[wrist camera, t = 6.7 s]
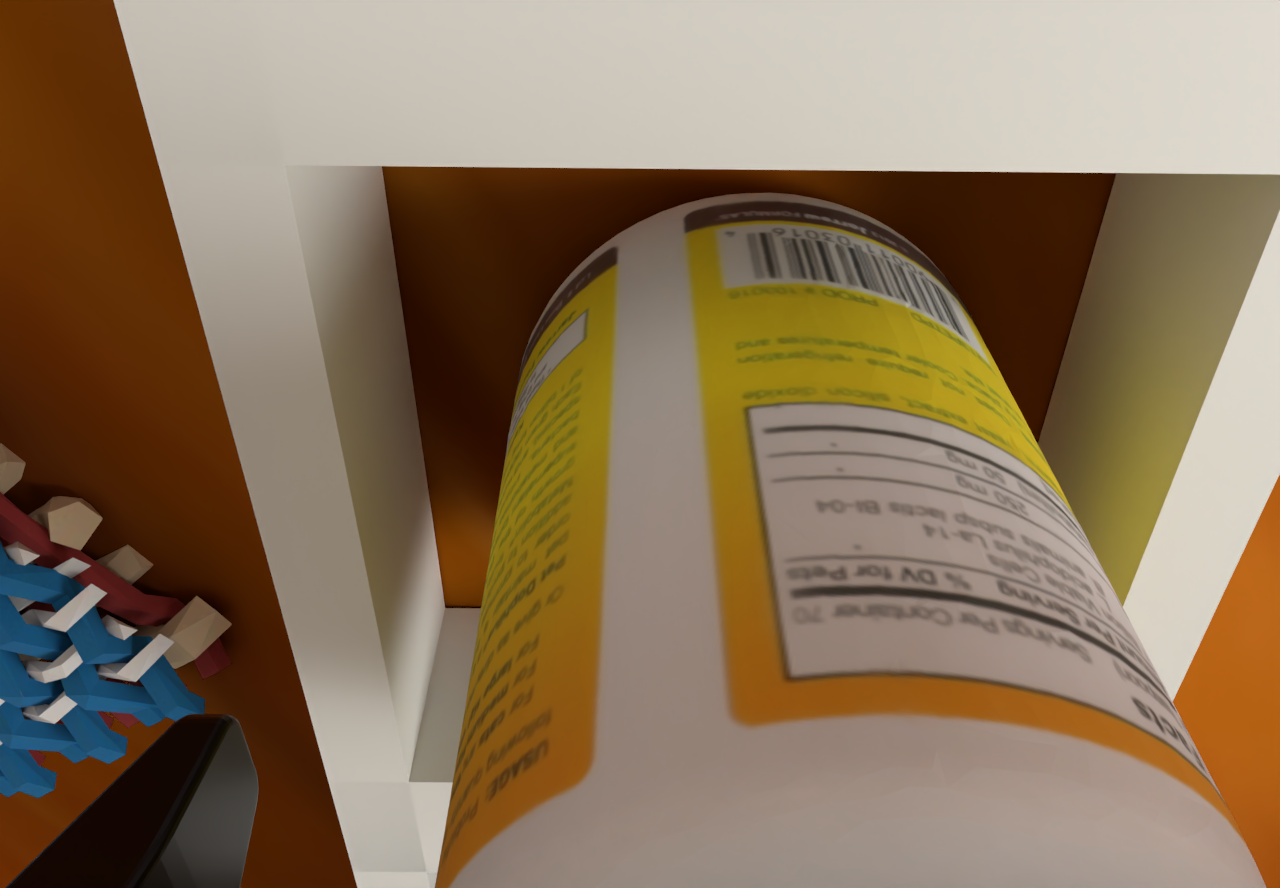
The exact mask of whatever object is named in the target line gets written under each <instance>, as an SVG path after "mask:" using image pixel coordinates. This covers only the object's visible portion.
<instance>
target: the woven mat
mask: <svg viewBox="0 0 1280 888" xmlns="http://www.w3.org/2000/svg"><path fill="white" fill-rule="evenodd" d="M25 464H26V463H25V462H24V461H23V460H22V459H20V458H19V457H18V456H17V455H15V454H14V453H13V452H12V451H10V450H9V449H8V448H7V447H5V446H4V445H3V444H1V443H0V793H2V794H3V795H5V796H6V797H9V796H11V795H13V794H15V793H17V792H19V791H20V792H23V793H26V794H28V795H31V796H34V797H36V798H40V797H41V796H43V795H45V794H47V793H49V792H51V791H53V790H54V789H55V782H56V775H57V773H55V772H53V771H50V770H48V769H45V768H43V767H41V765H42V763H43V761H44V759H45V756H44V755H43V754H41V753H40V752H38V751H37V750H41V751H55V752H58V753H60V754H63V755H64V756H66V757H67V758H68V759H70V760H71V761H73V762H74V763H77V762H79V761H81V760H83V759H85V758H87V757H89V756H91V757H94V758H96V759H98V760H101V761H103V762H105V763H108V764H109V763H111V762H113V761H115V760H117V759H118V758H120V757H122V756H124V755H126V748H127V738H126V737H124V736H122V735H120V734H118V733H116V732H114V731H112V730H110V727H111V725H112V722H113V720H114V719H113V718H111V717H110V716H108V715H107V714H105V713H104V712H109V713H111V714H112V715H113V716H114V717H115V718H116V719H118V720H119V721H120V722H121V723H122V724H123V725H125V726H126V727H127V728H129V727H130V726H132V725H134V724H136V723H138V722H140V721H141V722H142V723H144V724H145V725H146V726H148V727H149V726H151V725H153V724H156V723H158V722H160V721H162V720H163V719H164V718H165V717H168V718H170V719H172V720H174V721H177V720H179V719H180V718H182V717H184V716H186V715H190V714H205V699H204V698H202V697H200V696H198V695H196V694H194V693H192V692H190V691H188V690H187V688H186V686H187V685H186V684H185V683H183V682H182V681H181V679H180V678H179V676H178V675H177V674H176V672H175V671H174V669H177V668H179V667H181V666H183V665H185V664H187V663H189V662H191V661H194V663H195V665H196V667H197V669H198V671H199V673H200V675H201V677H202V679H203V680H204V679H206V678H208V677H210V676H212V675H214V674H216V673H218V672H219V671H221V670H223V669H224V668H226V667H227V666H229V665H230V664H232V663H231V661H230V659H229V657H228V655H227V653H226V651H225V649H224V647H223V645H222V643H221V641H220V638H219V636H220V635H221V634H222V633H223V632H225V631H226V630H227V629H228V628H229V627H230V626H231V625H232V624H231V623H230V622H229V621H228V620H227V619H226V618H224V617H223V616H222V615H221V614H220V613H219V612H217V611H216V610H215V609H213V608H212V607H211V606H210V605H208V604H207V603H206V602H204V601H203V600H202V599H200V598H199V597H198V596H196V597H195V598H194V599H193V600H191V601H190V602H189V603H188V604H187V605H186V606H185V605H184V604H183V603H182V602H181V601H179V600H178V599H177V598H173V597H164V596H154V595H145V594H144V593H142V592H141V591H139V590H138V589H136V588H135V587H133V586H132V584H133V583H134V582H136V581H137V580H138V579H139V578H140V577H141V576H142V575H143V574H144V573H146V572H147V571H148V570H149V569H150V568H151V567H152V566H153V564H152V563H151V562H150V561H148V560H147V559H146V558H144V557H143V556H142V555H141V554H139V553H138V552H137V551H136V550H134V549H133V548H132V547H131V546H129V545H128V544H127V545H125V546H123V547H121V548H119V549H118V550H116V551H114V552H112V553H110V554H108V555H106V556H104V557H102V558H100V559H98V560H96V561H95V560H93V559H92V558H90V557H89V556H87V555H86V554H84V553H83V552H81V551H80V550H81V549H82V548H83V546H84V545H85V543H86V542H87V541H88V539H89V538H90V536H91V535H92V533H93V532H94V531H95V529H96V528H97V526H98V525H99V523H100V522H101V521H102V519H103V518H102V517H101V516H100V514H99V513H98V512H97V511H96V510H95V509H94V508H93V506H92V505H90V504H89V503H88V502H86V501H85V500H84V499H82V498H75V497H65V496H57V497H52V498H51V499H50V500H49V501H48V502H47V503H46V504H45V505H43V506H41V507H40V508H38V509H37V510H35V511H33V512H32V513H30V514H28V515H26V514H25V513H23V512H22V511H21V510H20V509H19V508H17V507H16V506H15V505H14V504H13V503H12V502H11V501H10V500H9V499H7V498H6V497H5V496H4V494H5V493H6V492H7V491H8V490H9V489H10V488H12V487H13V486H14V485H15V484H16V483H17V482H19V481H20V480H21V478H22V475H23V471H24V468H25ZM35 563H37V564H38V565H39V566H36V565H33V564H35ZM40 566H41V567H40ZM98 607H101V608H103V609H105V610H107V611H109V612H111V613H113V614H115V615H117V616H119V617H121V618H123V619H126V620H128V621H130V622H132V623H134V624H138V625H137V626H136V627H134V628H133V627H131V626H129V625H127V624H125V623H123V622H121V621H119V620H117V619H115V618H113V617H111V616H109V615H106V616H105V617H104V618H102V619H101V618H100V616H99V614H98V612H97V610H96V609H97V608H98ZM40 659H47V660H51V661H54V662H53V663H51V662H41V661H39V660H40ZM173 668H174V669H173ZM122 680H126V681H127V682H129V683H130V684H132V685H128V684H125V683H124V682H123V681H122ZM103 711H104V712H103Z"/></svg>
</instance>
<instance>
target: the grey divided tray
mask: <svg viewBox="0 0 1280 888" xmlns="http://www.w3.org/2000/svg"><path fill="white" fill-rule="evenodd" d="M114 4H115V8H116V11H117V15H118V19H119V22H120V26H121V30H122V33H123V37H124V40H125V44H126V48H127V51H128V55H129V59H130V62H131V66H132V70H133V73H134V77H135V80H136V84H137V88H138V91H139V95H140V99H141V102H142V106H143V110H144V113H145V117H146V121H147V124H148V128H149V131H150V135H151V139H152V142H153V146H154V150H155V153H156V157H157V161H158V164H159V168H160V171H161V175H162V179H163V182H164V186H165V190H166V193H167V197H168V201H169V204H170V208H171V211H172V215H173V219H174V222H175V226H176V230H177V233H178V237H179V241H180V244H181V248H182V251H183V255H184V259H185V262H186V266H187V270H188V273H189V277H190V281H191V284H192V288H193V291H194V295H195V299H196V302H197V306H198V310H199V313H200V317H201V321H202V324H203V328H204V331H205V335H206V339H207V342H208V346H209V350H210V353H211V357H212V361H213V364H214V368H215V371H216V375H217V379H218V382H219V386H220V390H221V393H222V397H223V401H224V404H225V408H226V411H227V415H228V419H229V422H230V426H231V430H232V433H233V437H234V441H235V444H236V448H237V451H238V455H239V459H240V462H241V466H242V470H243V473H244V477H245V481H246V484H247V488H248V491H249V495H250V499H251V502H252V506H253V510H254V513H255V517H256V521H257V524H258V528H259V531H260V535H261V539H262V542H263V546H264V550H265V553H266V557H267V561H268V564H269V568H270V572H271V575H272V579H273V582H274V586H275V590H276V593H277V597H278V601H279V604H280V608H281V612H282V615H283V619H284V622H285V626H286V630H287V633H288V637H289V641H290V644H291V648H292V652H293V655H294V659H295V662H296V666H297V670H298V673H299V677H300V681H301V684H302V688H303V692H304V695H305V699H306V702H307V706H308V710H309V713H310V717H311V721H312V724H313V728H314V732H315V735H316V739H317V742H318V746H319V750H320V753H321V757H322V761H323V764H324V768H325V772H326V775H327V779H328V782H329V786H330V790H331V793H332V797H333V801H334V804H335V808H336V812H337V815H338V819H339V822H340V826H341V830H342V833H343V837H344V841H345V844H346V848H347V852H348V855H349V859H350V862H351V866H352V870H353V873H354V877H355V881H356V884H357V888H435V884H436V878H437V872H438V866H439V860H440V855H441V849H442V843H443V837H444V831H445V826H446V820H447V814H448V808H449V802H450V796H451V790H452V784H453V778H454V772H455V766H456V760H457V754H458V748H459V742H460V736H461V731H462V725H463V719H464V713H465V707H466V700H467V693H468V686H469V680H470V674H471V668H472V662H473V657H474V651H475V645H476V639H477V632H478V625H479V618H480V612H481V608H445V603H444V596H443V589H442V582H441V575H440V568H439V561H438V554H437V547H436V540H435V533H434V526H433V519H432V512H431V505H430V498H429V491H428V484H427V477H426V471H425V464H424V457H423V450H422V443H421V436H420V429H419V422H418V415H417V408H416V401H415V394H414V387H413V380H412V373H411V366H410V359H409V352H408V345H407V338H406V331H405V325H404V318H403V311H402V304H401V297H400V290H399V283H398V276H397V269H396V262H395V255H394V248H393V241H392V234H391V227H390V220H389V213H388V206H387V199H386V192H385V185H384V179H383V172H382V166H416V167H523V168H631V169H738V170H846V171H953V172H1061V173H1116V176H1115V180H1114V183H1113V186H1112V190H1111V193H1110V197H1109V200H1108V204H1107V207H1106V211H1105V214H1104V218H1103V221H1102V224H1101V228H1100V231H1099V235H1098V238H1097V242H1096V245H1095V249H1094V252H1093V255H1092V259H1091V262H1090V266H1089V269H1088V273H1087V276H1086V280H1085V283H1084V286H1083V290H1082V293H1081V297H1080V300H1079V304H1078V307H1077V311H1076V314H1075V318H1074V321H1073V324H1072V328H1071V331H1070V335H1069V338H1068V342H1067V345H1066V349H1065V352H1064V355H1063V359H1062V362H1061V366H1060V369H1059V373H1058V376H1057V380H1056V383H1055V386H1054V390H1053V393H1052V397H1051V400H1050V404H1049V407H1048V411H1047V414H1046V418H1045V421H1044V424H1043V428H1042V431H1041V435H1040V438H1039V442H1038V446H1039V448H1040V449H1041V451H1042V453H1043V455H1044V457H1045V459H1046V461H1047V463H1048V465H1049V467H1050V468H1051V470H1052V472H1053V474H1054V476H1055V478H1056V479H1057V481H1058V483H1059V485H1060V487H1061V489H1062V491H1063V493H1064V495H1065V497H1066V499H1067V501H1068V503H1069V505H1070V507H1071V509H1072V511H1073V513H1074V515H1075V517H1076V519H1077V520H1078V522H1079V524H1080V526H1081V528H1082V529H1083V531H1084V533H1085V535H1086V537H1087V539H1088V541H1089V543H1090V545H1091V547H1092V549H1093V551H1094V553H1095V555H1096V557H1097V559H1098V561H1099V563H1100V565H1101V566H1102V568H1103V570H1104V572H1105V574H1106V576H1107V578H1108V580H1109V582H1110V584H1111V586H1112V588H1113V589H1114V591H1115V593H1116V595H1117V597H1118V599H1119V601H1120V603H1121V605H1122V607H1123V609H1124V611H1125V613H1126V614H1127V616H1128V618H1129V620H1130V622H1131V624H1132V626H1133V628H1134V630H1135V632H1136V633H1137V635H1138V637H1139V639H1140V641H1141V643H1142V645H1143V647H1144V649H1145V651H1146V653H1147V654H1148V656H1149V658H1150V660H1151V662H1152V664H1153V666H1154V668H1155V670H1156V672H1157V673H1158V675H1159V677H1160V679H1161V681H1162V683H1163V685H1164V687H1165V689H1166V691H1167V692H1168V694H1169V696H1170V698H1171V700H1172V702H1173V700H1174V697H1175V695H1176V693H1177V691H1178V689H1179V687H1180V685H1181V683H1182V680H1183V678H1184V676H1185V674H1186V672H1187V670H1188V668H1189V666H1190V663H1191V661H1192V659H1193V657H1194V655H1195V653H1196V651H1197V649H1198V646H1199V644H1200V642H1201V640H1202V638H1203V636H1204V634H1205V632H1206V629H1207V627H1208V625H1209V623H1210V621H1211V619H1212V617H1213V615H1214V612H1215V610H1216V608H1217V606H1218V604H1219V602H1220V600H1221V597H1222V595H1223V593H1224V591H1225V589H1226V587H1227V585H1228V583H1229V580H1230V578H1231V576H1232V574H1233V572H1234V570H1235V568H1236V566H1237V563H1238V561H1239V559H1240V557H1241V555H1242V553H1243V551H1244V549H1245V546H1246V544H1247V542H1248V540H1249V538H1250V536H1251V534H1252V532H1253V529H1254V527H1255V525H1256V523H1257V521H1258V519H1259V517H1260V515H1261V512H1262V510H1263V508H1264V506H1265V504H1266V502H1267V500H1268V498H1269V495H1270V493H1271V491H1272V489H1273V487H1274V485H1275V483H1276V481H1277V478H1278V476H1279V474H1280V0H114Z"/></svg>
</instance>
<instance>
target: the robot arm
mask: <svg viewBox="0 0 1280 888" xmlns="http://www.w3.org/2000/svg"><path fill="white" fill-rule="evenodd" d="M257 800H258V777H257V772H256V769H255V766H254V763H253V760H252V757H251V754H250V751H249V748H248V746H247V743H246V740H245V737H244V734H243V731H242V728H241V725H240V723H239V721H238V720H237V719H236V718H235V717H234V716H232V715H228V714H190V715H186V716H184V717H182V718H180V719H179V720H177V721H176V722H175V723H174V724H172V725H171V726H170V727H169V728H168V729H167V730H166V731H165V732H164V733H163V734H162V735H161V736H160V737H159V738H158V739H157V740H156V741H155V742H154V743H153V744H152V745H151V746H150V747H149V748H148V749H147V750H146V751H145V752H144V753H143V754H142V755H141V756H140V757H139V758H138V759H137V760H136V761H135V762H134V763H133V764H132V765H131V766H130V767H128V768H127V769H126V770H125V771H124V772H123V773H122V774H121V775H120V776H119V777H118V778H117V779H116V780H115V781H114V782H113V783H112V784H111V785H110V786H109V787H108V788H107V789H106V790H105V791H104V792H103V793H102V794H101V795H100V796H99V797H98V798H97V799H96V800H95V801H94V802H93V803H92V804H91V805H90V806H89V807H88V808H87V809H86V810H84V811H83V812H82V813H81V814H80V815H79V816H78V817H77V818H76V819H75V820H74V821H73V822H72V823H71V824H70V825H69V826H68V827H67V828H66V829H65V830H64V831H63V832H62V833H61V834H60V835H59V836H58V837H57V838H56V839H55V840H54V841H53V842H52V843H51V844H50V845H49V846H48V847H47V848H46V849H45V850H44V851H43V852H41V853H40V854H39V855H38V856H37V857H36V858H35V859H34V860H33V861H32V862H31V863H30V864H29V865H28V866H27V867H26V868H25V869H24V870H23V871H22V872H21V873H20V874H19V875H18V876H17V877H16V878H15V879H14V880H13V881H12V882H11V883H10V884H9V885H8V886H7V887H6V888H240V885H241V880H242V875H243V870H244V865H245V860H246V855H247V850H248V846H249V841H250V836H251V831H252V826H253V821H254V816H255V811H256V806H257Z"/></svg>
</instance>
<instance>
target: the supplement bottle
mask: <svg viewBox="0 0 1280 888" xmlns="http://www.w3.org/2000/svg"><path fill="white" fill-rule="evenodd" d="M435 888H1266V886H1265V883H1264V881H1263V879H1262V877H1261V874H1260V872H1259V870H1258V868H1257V865H1256V863H1255V861H1254V859H1253V857H1252V855H1251V853H1250V851H1249V848H1248V846H1247V844H1246V842H1245V840H1244V838H1243V836H1242V834H1241V832H1240V830H1239V827H1238V825H1237V823H1236V821H1235V819H1234V817H1233V815H1232V814H1231V812H1230V810H1229V808H1228V807H1227V805H1226V803H1225V801H1224V800H1223V798H1222V796H1221V794H1220V792H1219V790H1218V789H1217V787H1216V785H1215V783H1214V781H1213V779H1212V777H1211V775H1210V774H1209V772H1208V770H1207V768H1206V766H1205V764H1204V762H1203V760H1202V758H1201V756H1200V754H1199V752H1198V750H1197V748H1196V747H1195V745H1194V743H1193V741H1192V739H1191V737H1190V735H1189V733H1188V731H1187V729H1186V727H1185V725H1184V723H1183V721H1182V719H1181V718H1180V716H1179V714H1178V712H1177V710H1176V708H1175V706H1174V704H1173V702H1172V700H1171V698H1170V696H1169V694H1168V692H1167V691H1166V689H1165V687H1164V685H1163V683H1162V681H1161V679H1160V677H1159V675H1158V673H1157V672H1156V670H1155V668H1154V666H1153V664H1152V662H1151V660H1150V658H1149V656H1148V654H1147V653H1146V651H1145V649H1144V647H1143V645H1142V643H1141V641H1140V639H1139V637H1138V635H1137V633H1136V632H1135V630H1134V628H1133V626H1132V624H1131V622H1130V620H1129V618H1128V616H1127V614H1126V613H1125V611H1124V609H1123V607H1122V605H1121V603H1120V601H1119V599H1118V597H1117V595H1116V593H1115V591H1114V589H1113V588H1112V586H1111V584H1110V582H1109V580H1108V578H1107V576H1106V574H1105V572H1104V570H1103V568H1102V566H1101V565H1100V563H1099V561H1098V559H1097V557H1096V555H1095V553H1094V551H1093V549H1092V547H1091V545H1090V543H1089V541H1088V539H1087V537H1086V535H1085V533H1084V531H1083V529H1082V528H1081V526H1080V524H1079V522H1078V520H1077V519H1076V517H1075V515H1074V513H1073V511H1072V509H1071V507H1070V505H1069V503H1068V501H1067V499H1066V497H1065V495H1064V493H1063V491H1062V489H1061V487H1060V485H1059V483H1058V481H1057V479H1056V478H1055V476H1054V474H1053V472H1052V470H1051V468H1050V467H1049V465H1048V463H1047V461H1046V459H1045V457H1044V455H1043V453H1042V451H1041V449H1040V448H1039V446H1038V444H1037V442H1036V440H1035V438H1034V436H1033V434H1032V432H1031V430H1030V428H1029V426H1028V424H1027V422H1026V421H1025V419H1024V417H1023V415H1022V413H1021V411H1020V409H1019V407H1018V405H1017V403H1016V402H1015V400H1014V398H1013V396H1012V394H1011V392H1010V390H1009V388H1008V387H1007V385H1006V383H1005V381H1004V379H1003V377H1002V375H1001V373H1000V371H999V369H998V367H997V365H996V363H995V361H994V359H993V358H992V356H991V354H990V352H989V350H988V348H987V347H986V345H985V343H984V341H983V339H982V337H981V335H980V333H979V331H978V329H977V327H976V325H975V323H974V321H973V319H972V317H971V315H970V313H969V311H968V310H967V308H966V306H965V305H964V303H963V302H962V300H961V299H960V297H959V296H958V294H957V293H956V291H955V290H954V288H953V287H952V285H951V284H950V283H949V281H948V280H947V279H946V277H945V276H944V275H943V273H942V272H941V271H940V270H939V269H938V268H937V266H936V265H935V264H934V263H933V262H932V261H931V260H930V259H929V258H928V257H927V256H926V255H925V254H924V253H923V252H922V251H921V250H920V249H918V248H917V247H916V246H915V245H914V244H912V243H911V242H910V241H909V240H907V239H906V238H905V237H903V236H902V235H900V234H899V233H897V232H896V231H894V230H893V229H891V228H890V227H888V226H886V225H885V224H883V223H881V222H879V221H878V220H876V219H874V218H872V217H870V216H868V215H866V214H863V213H861V212H859V211H856V210H854V209H851V208H848V207H845V206H842V205H839V204H836V203H833V202H829V201H825V200H821V199H816V198H811V197H805V196H800V195H795V194H782V193H741V194H730V195H723V196H717V197H711V198H705V199H701V200H697V201H693V202H689V203H685V204H682V205H679V206H676V207H673V208H670V209H668V210H665V211H662V212H660V213H657V214H655V215H653V216H651V217H649V218H646V219H644V220H642V221H640V222H638V223H636V224H634V225H633V226H631V227H629V228H627V229H626V230H624V231H622V232H620V233H619V234H617V235H616V236H614V237H613V238H611V239H610V240H609V241H607V242H606V243H604V244H603V245H602V246H601V247H599V248H598V249H597V250H595V251H594V252H593V253H592V254H591V255H590V256H588V257H587V258H586V259H585V260H584V261H583V262H582V263H581V264H580V265H579V266H578V267H577V268H576V269H575V270H574V271H573V272H572V273H571V274H570V275H569V276H568V277H567V279H566V280H565V281H564V282H563V283H562V285H561V286H560V287H559V288H558V290H557V291H556V292H555V294H554V295H553V297H552V298H551V299H550V301H549V302H548V304H547V306H546V308H545V310H544V311H543V313H542V315H541V317H540V318H539V320H538V322H537V324H536V326H535V328H534V330H533V332H532V334H531V336H530V339H529V342H528V345H527V347H526V350H525V353H524V356H523V359H522V364H521V368H520V373H519V379H518V384H517V390H516V395H515V402H514V408H513V413H512V419H511V424H510V430H509V434H508V441H507V449H506V456H505V463H504V469H503V475H502V481H501V488H500V495H499V501H498V507H497V513H496V518H495V527H494V532H493V538H492V545H491V551H490V558H489V564H488V570H487V576H486V582H485V588H484V594H483V600H482V606H481V612H480V618H479V625H478V632H477V639H476V645H475V651H474V657H473V662H472V668H471V674H470V680H469V686H468V693H467V700H466V707H465V713H464V719H463V725H462V731H461V736H460V742H459V748H458V754H457V760H456V766H455V772H454V778H453V784H452V790H451V796H450V802H449V808H448V814H447V820H446V826H445V831H444V837H443V843H442V849H441V855H440V860H439V866H438V872H437V878H436V884H435Z"/></svg>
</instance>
